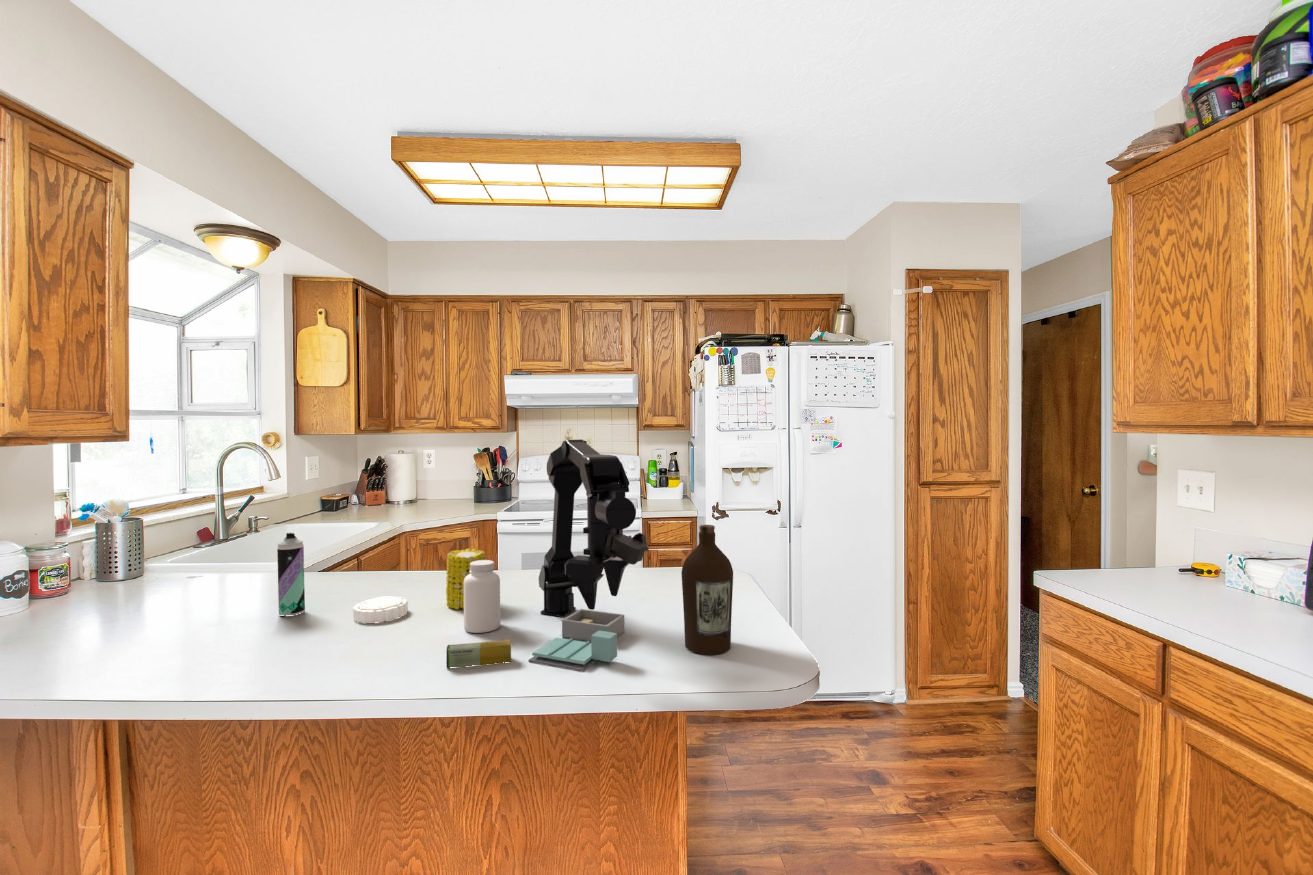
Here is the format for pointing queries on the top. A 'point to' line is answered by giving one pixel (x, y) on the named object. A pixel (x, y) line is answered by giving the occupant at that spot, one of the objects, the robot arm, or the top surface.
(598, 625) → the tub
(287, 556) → the spray can
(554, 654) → the lid
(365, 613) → the mooncake
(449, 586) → the food
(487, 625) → the pill bottle
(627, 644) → the top surface
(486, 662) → the medication box
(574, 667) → the mat
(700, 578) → the olive oil
